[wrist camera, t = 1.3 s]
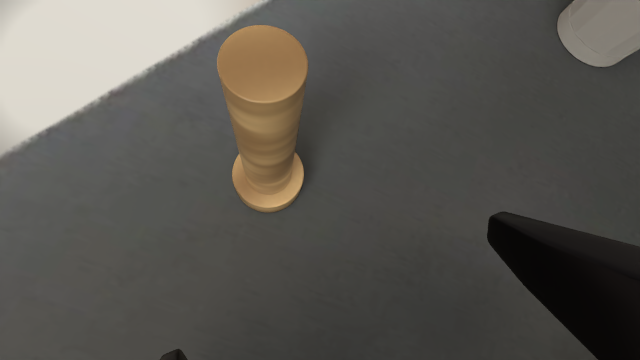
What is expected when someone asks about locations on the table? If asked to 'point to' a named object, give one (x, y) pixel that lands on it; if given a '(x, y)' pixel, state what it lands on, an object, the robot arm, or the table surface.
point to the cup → (600, 30)
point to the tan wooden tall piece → (265, 113)
